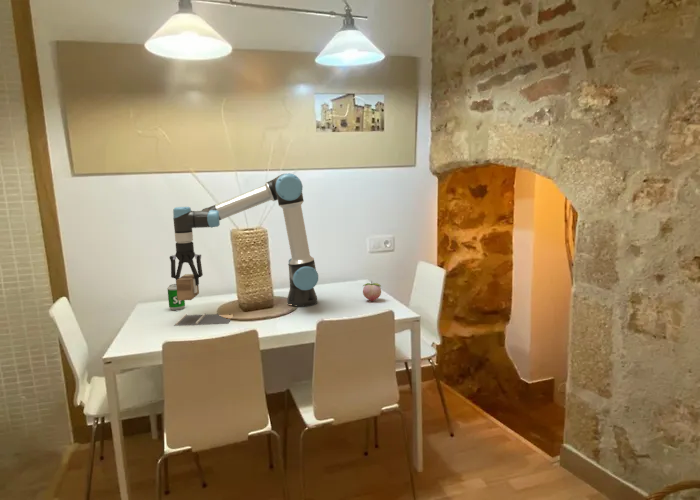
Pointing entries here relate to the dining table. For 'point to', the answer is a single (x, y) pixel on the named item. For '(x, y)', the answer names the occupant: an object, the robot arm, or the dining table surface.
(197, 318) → the mat
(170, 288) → the soda can
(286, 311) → the dining table surface
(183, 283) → the walnut block
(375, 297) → the decorative fruit
